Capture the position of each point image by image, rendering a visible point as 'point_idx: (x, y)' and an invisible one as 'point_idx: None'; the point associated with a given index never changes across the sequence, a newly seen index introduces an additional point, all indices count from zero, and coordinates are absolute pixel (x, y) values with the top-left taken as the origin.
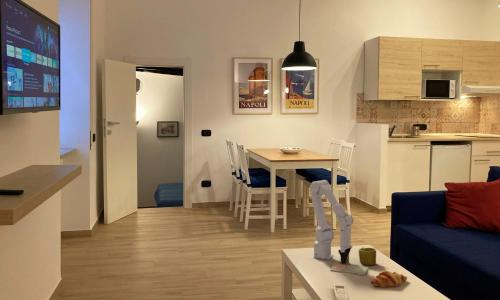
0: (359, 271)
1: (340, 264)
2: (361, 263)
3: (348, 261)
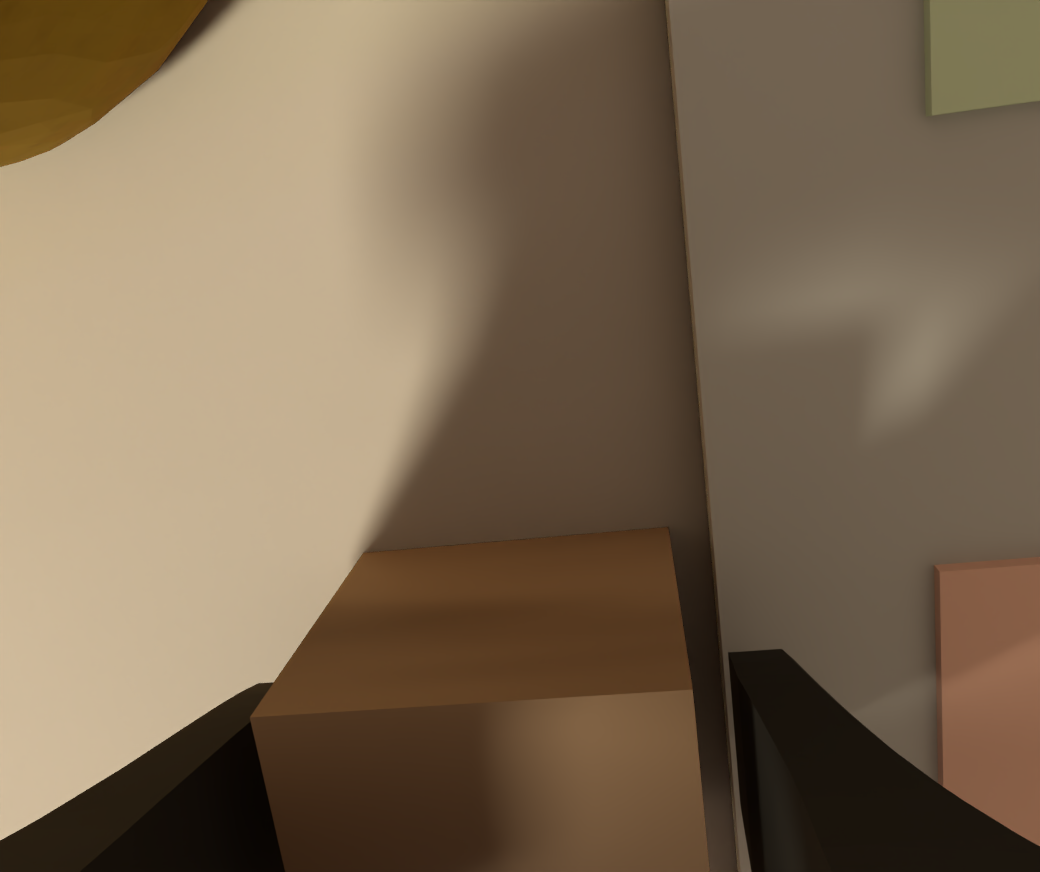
0: None
1: None
2: (197, 11)
3: (496, 595)
